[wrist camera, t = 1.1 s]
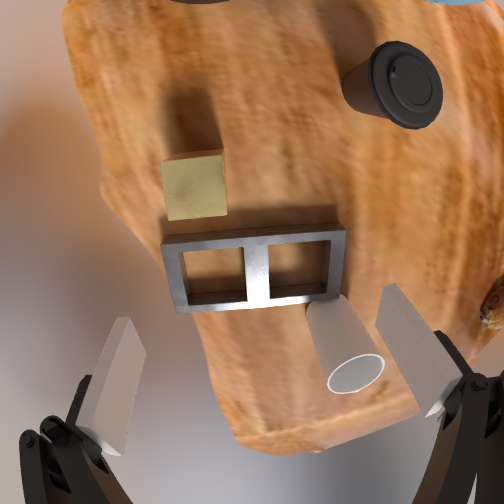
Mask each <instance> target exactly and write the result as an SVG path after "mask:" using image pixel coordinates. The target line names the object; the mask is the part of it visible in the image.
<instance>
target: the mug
mask: <svg viewBox="0 0 504 504" xmlns="http://www.w3.org/2000/svg"><path fill="white" fill-rule="evenodd" d="M306 319H307V322H308V326H309V329H310V332H311V335H312V338H313V341H314V345H315V348H316V351H317V354H318V357H319V361H320V364H321V367H322V371H323V374H324V377H325V380H326V383H327V386H328V388H329V389H330V390H331V391H332V392H335V393H339V394H345V393H351V392H357V391H359V390H360V389H363V388H364V387H366V386H368V385H369V384H371V383H372V382H373V381H375V380H376V379H377V378H378V376H379V375H380V374H381V372H382V371H383V368H384V364H385V363H384V359H383V358H382V356H381V354H380V352H379V350H378V348H377V347H376V345H375V343H374V342H373V340H372V338H371V337H370V335H369V333H368V332H367V330H366V328H365V327H364V325H363V324H362V322H361V320H360V319H359V317H358V316H357V314H356V312H355V311H354V309H353V308H352V306H351V305H350V303H349V302H348V300H347V299H346V297H345V296H343V295H342V294H340V296H339V298H337V299H329V300H322V301H314V302H311V303H310V304H309V306H308V308H307V311H306Z"/></svg>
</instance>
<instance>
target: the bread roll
mask: <svg viewBox="0 0 504 504" xmlns="http://www.w3.org/2000/svg"><path fill="white" fill-rule="evenodd" d="M480 319H481V321H482V323H483V324H484V326H485V327H487V328H489V329H495V330H496V329H500V328H502V327H503V326H504V286H500V287H498V288H496V289H495V290H494V291H493V292H492V293H491V294H490V295H489V296H488V298H487V299H486V301H485V303H484V305H483V307H482V309H481V312H480Z"/></svg>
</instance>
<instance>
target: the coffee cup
mask: <svg viewBox="0 0 504 504" xmlns="http://www.w3.org/2000/svg"><path fill="white" fill-rule="evenodd" d="M342 92H343V95H344V98H345V100H346V101H347V103H348V104H349V106H351V107H352V108H353V109H354V110H356V111H358V112H361V113H365V114H369V115H374V116H378V117H382V118H386V119H390V120H391V121H392V122H394V123H395V124H397V125H399V126H401V127H403V128H407V129H414V130H417V129H420V128H424V127H427V126H428V125H429V124H430V123H431V122H433V121H434V120H435V118H436V117H437V115H438V114H439V112H440V110H441V106H442V101H443V89H442V83H441V80H440V77H439V74H438V72H437V70H436V68H435V66H434V65H433V63H432V62H431V61H430V59H429V58H428V57H427V56H426V55H425V54H424V53H423V52H421V51H420V50H419V49H417V48H415V47H413V46H412V45H410V44H407V43H404V42H400V41H390V42H385V43H384V44H382V45H380V46H378V47H377V48H376V49H375V51H374V52H373V54H372V55H371V57H370V58H369V59H368V60H366V61H365V62H363V63H362V64H360V65H359V66H357V67H356V68H354V69H353V70H352V71H350V72H349V73H347V75H346V76H345V77H344V79H343V83H342Z"/></svg>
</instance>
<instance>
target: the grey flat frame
mask: <svg viewBox="0 0 504 504" xmlns="http://www.w3.org/2000/svg"><path fill="white" fill-rule="evenodd" d="M346 231H347V230H346V229H345V228H344V227H343V226H342V225H341V224H340V223H339V222H336V223H320V224H305V225H290V226H276V227H263V228H250V229H238V230H226V231H214V232H203V233H192V234H181V235H171V236H165V237H164V239H163V241H162V243H161V245H160V246H161V251H162V256H163V261H164V265H165V270H166V274H167V279H168V283H169V287H170V292H171V295H172V299H173V304H174V307H175V311H176V313H192V312H208V311H222V310H235V309H247V308H258V307H269V306H278V305H288V304H297V303H305V302H314V301H322V300H329V299H337V298H339V296H340V288H341V281H342V272H343V263H344V254H345V243H346ZM321 240H324V247H323V262H322V276H321V282H320V283H311V284H302V285H292V286H282V287H272V288H269V270H268V245H271V244H283V243H296V242H309V241H321ZM235 247H243V249H244V263H245V276H246V289H247V290H239V291H226V292H213V293H199V294H191V293H190V288H189V283H188V278H187V272H186V267H185V262H184V256H183V252H187V251H199V250H211V249H223V248H235Z"/></svg>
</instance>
